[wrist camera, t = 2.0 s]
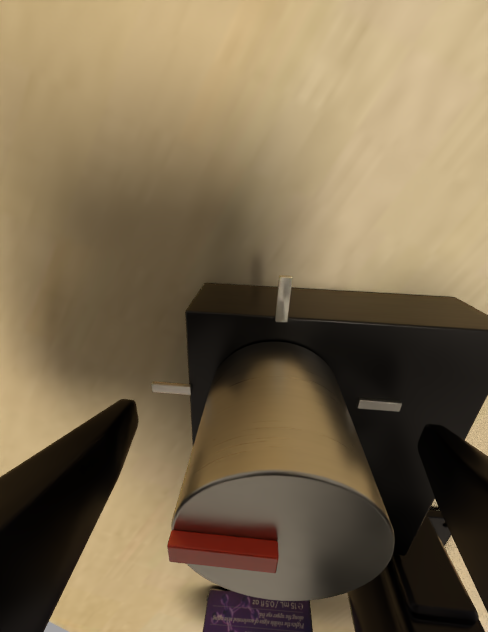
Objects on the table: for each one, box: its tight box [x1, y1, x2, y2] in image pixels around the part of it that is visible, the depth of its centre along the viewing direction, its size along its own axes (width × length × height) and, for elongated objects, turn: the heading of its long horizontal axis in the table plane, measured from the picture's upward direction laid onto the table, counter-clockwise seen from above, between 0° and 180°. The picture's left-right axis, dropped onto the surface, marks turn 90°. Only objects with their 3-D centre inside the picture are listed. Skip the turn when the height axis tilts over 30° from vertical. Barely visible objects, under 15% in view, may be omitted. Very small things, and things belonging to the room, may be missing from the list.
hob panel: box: [151, 276, 488, 556], centre depth 12 cm, size 13×11×3 cm
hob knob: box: [167, 342, 395, 601], centre depth 7 cm, size 4×4×5 cm
